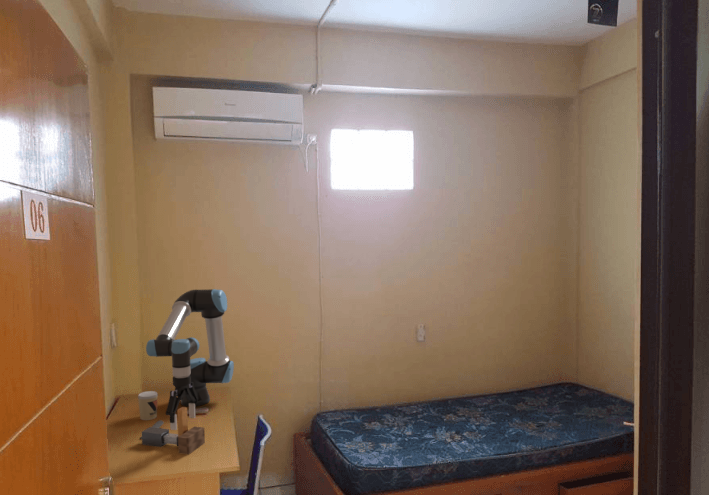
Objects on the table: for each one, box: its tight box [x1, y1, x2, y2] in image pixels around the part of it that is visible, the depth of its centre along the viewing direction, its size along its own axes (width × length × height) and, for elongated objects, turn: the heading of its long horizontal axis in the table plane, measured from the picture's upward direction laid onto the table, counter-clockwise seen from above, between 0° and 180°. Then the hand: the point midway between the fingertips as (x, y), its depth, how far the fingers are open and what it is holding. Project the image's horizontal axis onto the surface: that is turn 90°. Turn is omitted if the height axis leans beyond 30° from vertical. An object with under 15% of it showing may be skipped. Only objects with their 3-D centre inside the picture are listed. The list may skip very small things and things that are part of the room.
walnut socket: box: [177, 426, 206, 456], centre depth 232 cm, size 12×5×7 cm, turn 163°
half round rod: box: [139, 420, 165, 440], centre depth 252 cm, size 4×20×2 cm, turn 179°
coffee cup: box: [137, 390, 159, 421], centre depth 269 cm, size 9×9×12 cm
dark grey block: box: [141, 426, 170, 448], centre depth 237 cm, size 6×10×6 cm, turn 73°
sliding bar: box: [162, 406, 189, 448], centre depth 234 cm, size 4×20×16 cm, turn 73°
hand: (183, 423), depth 233 cm, fingers open, 13 cm apart
